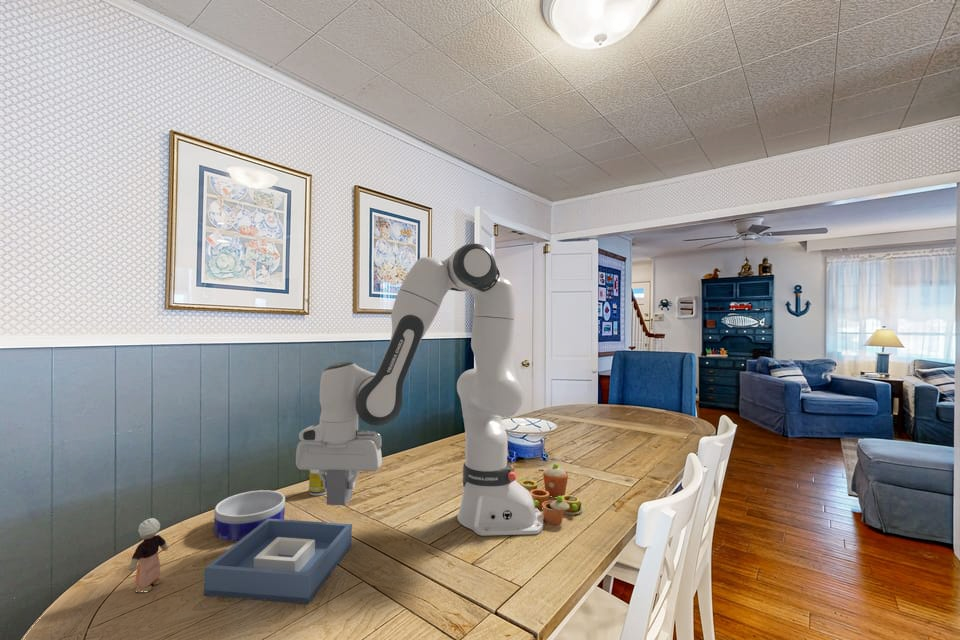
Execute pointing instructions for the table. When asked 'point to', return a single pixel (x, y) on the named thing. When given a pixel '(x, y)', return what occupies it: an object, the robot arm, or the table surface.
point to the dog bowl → (246, 513)
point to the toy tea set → (556, 488)
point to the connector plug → (338, 487)
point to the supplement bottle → (316, 484)
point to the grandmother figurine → (148, 555)
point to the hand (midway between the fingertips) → (339, 487)
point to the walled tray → (279, 561)
